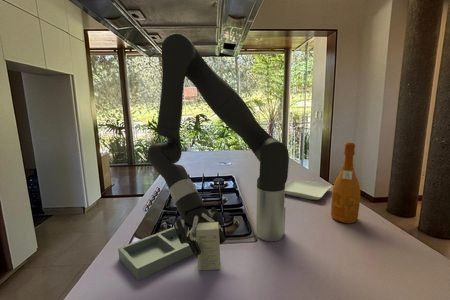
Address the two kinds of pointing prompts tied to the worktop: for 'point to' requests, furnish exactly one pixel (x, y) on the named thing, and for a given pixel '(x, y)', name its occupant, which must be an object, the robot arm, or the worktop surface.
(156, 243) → the carton tray
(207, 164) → the worktop surface
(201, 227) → the skincare box
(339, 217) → the wine bottle
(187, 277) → the worktop surface
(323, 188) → the salad plate
